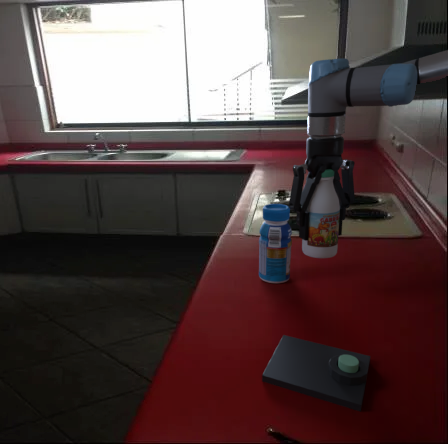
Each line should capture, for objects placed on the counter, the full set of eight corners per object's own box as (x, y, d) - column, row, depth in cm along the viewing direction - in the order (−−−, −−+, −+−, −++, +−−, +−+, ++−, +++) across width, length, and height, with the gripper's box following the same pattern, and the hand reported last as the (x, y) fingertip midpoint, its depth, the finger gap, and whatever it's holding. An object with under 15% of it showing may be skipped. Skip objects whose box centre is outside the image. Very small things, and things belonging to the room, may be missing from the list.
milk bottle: (295, 253, 98) (298, 169, 92) (313, 244, 103) (316, 164, 97) (325, 262, 92) (330, 173, 86) (343, 252, 97) (349, 167, 91)
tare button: (359, 364, 73) (360, 357, 72) (356, 375, 70) (357, 367, 70) (339, 359, 75) (340, 352, 74) (336, 370, 72) (337, 362, 71)
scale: (370, 362, 77) (371, 348, 76) (361, 412, 66) (362, 396, 65) (283, 340, 85) (283, 327, 85) (261, 381, 74) (262, 367, 73)
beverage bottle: (251, 276, 114) (252, 206, 108) (273, 268, 119) (275, 200, 113) (274, 287, 108) (277, 213, 101) (297, 278, 112) (300, 207, 106)
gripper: (356, 130, 95) (349, 225, 102) (272, 138, 91) (271, 236, 98) (379, 133, 88) (370, 235, 95) (290, 142, 84) (287, 247, 91)
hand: (320, 236), depth 96 cm, fingers closed on milk bottle, 8 cm apart
